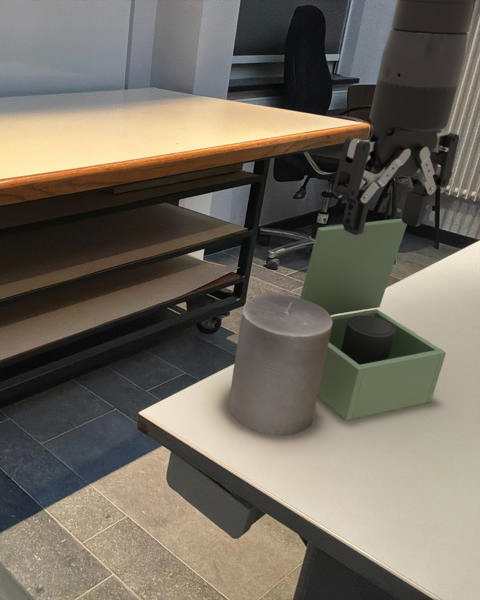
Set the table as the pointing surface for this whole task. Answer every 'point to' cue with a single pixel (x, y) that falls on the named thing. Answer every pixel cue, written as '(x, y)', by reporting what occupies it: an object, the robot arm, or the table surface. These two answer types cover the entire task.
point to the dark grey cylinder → (367, 339)
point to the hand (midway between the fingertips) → (382, 228)
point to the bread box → (379, 373)
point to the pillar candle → (279, 364)
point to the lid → (352, 266)
